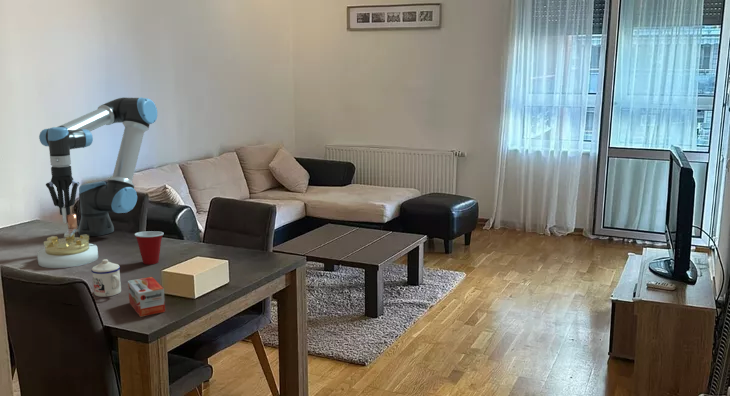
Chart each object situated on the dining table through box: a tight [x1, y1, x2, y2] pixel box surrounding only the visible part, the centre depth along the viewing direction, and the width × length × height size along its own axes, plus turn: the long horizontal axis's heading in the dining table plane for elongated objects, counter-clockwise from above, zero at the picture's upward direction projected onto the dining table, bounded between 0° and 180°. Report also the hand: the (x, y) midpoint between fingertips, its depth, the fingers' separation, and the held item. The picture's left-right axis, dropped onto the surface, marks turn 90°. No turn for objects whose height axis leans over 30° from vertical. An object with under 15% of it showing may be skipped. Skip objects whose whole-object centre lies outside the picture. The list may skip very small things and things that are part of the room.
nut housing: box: [37, 243, 99, 269], centre depth 277 cm, size 22×22×4 cm
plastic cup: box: [134, 230, 164, 265], centre depth 272 cm, size 11×11×12 cm
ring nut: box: [43, 213, 90, 255], centre depth 279 cm, size 23×16×11 cm
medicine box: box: [127, 276, 166, 318], centre depth 223 cm, size 15×8×8 cm, turn 31°
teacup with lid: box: [90, 258, 122, 298], centre depth 236 cm, size 12×9×12 cm
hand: (66, 222), depth 287 cm, fingers closed
